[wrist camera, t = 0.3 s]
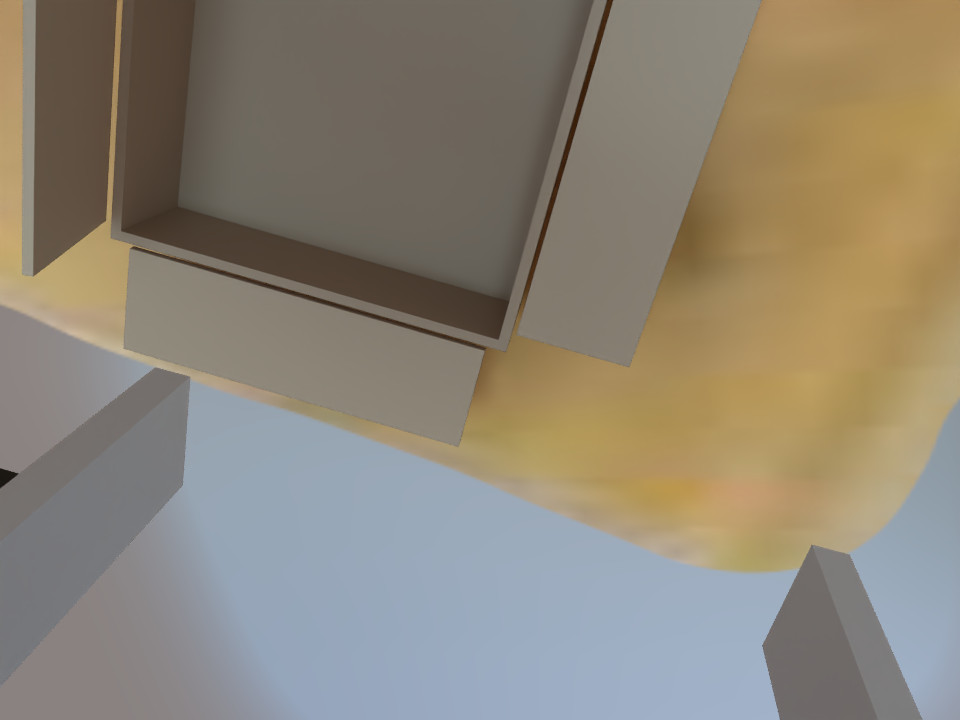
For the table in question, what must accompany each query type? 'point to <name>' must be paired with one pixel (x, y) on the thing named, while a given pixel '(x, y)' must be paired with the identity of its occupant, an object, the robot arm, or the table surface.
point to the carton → (405, 185)
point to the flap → (65, 124)
